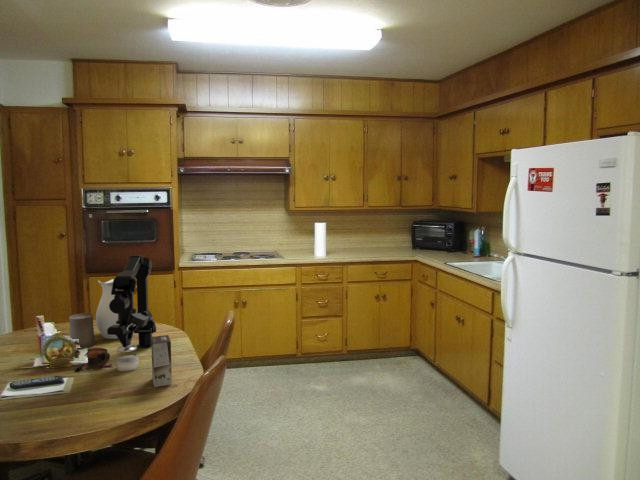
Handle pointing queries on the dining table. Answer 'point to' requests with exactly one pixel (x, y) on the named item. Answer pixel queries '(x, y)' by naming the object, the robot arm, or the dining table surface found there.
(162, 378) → the coffee box
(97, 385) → the dining table surface
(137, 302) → the robot arm
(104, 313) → the pitcher
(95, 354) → the pottery mug
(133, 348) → the plunger
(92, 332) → the pillar candle
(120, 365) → the press
